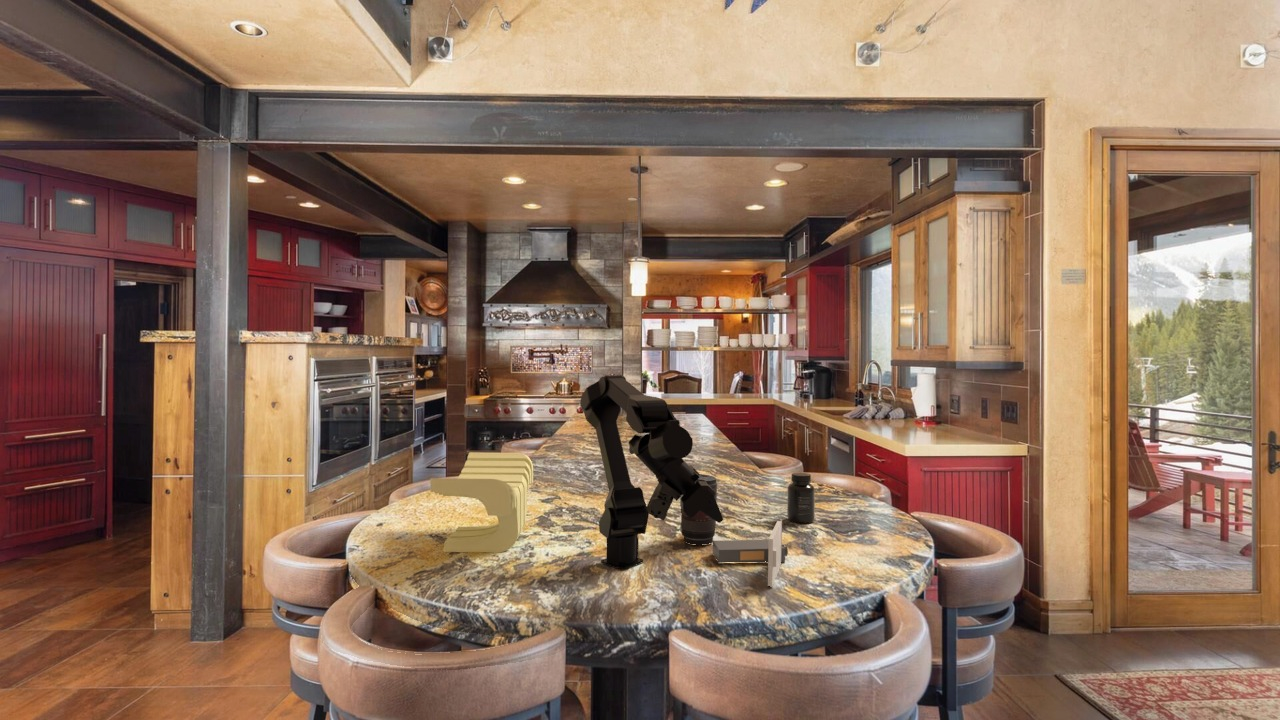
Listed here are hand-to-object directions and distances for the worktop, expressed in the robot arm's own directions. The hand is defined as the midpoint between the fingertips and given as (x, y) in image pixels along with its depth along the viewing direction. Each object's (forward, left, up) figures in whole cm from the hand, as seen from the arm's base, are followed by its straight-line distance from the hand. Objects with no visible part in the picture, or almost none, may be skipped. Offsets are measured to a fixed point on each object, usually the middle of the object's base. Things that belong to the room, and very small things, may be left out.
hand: (721, 520), depth 118 cm
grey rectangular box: (+17, +3, -12) cm, 21 cm away
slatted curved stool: (-13, +54, -13) cm, 57 cm away
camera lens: (+19, +18, -13) cm, 29 cm away
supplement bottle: (+51, +8, -13) cm, 53 cm away
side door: (+12, -5, -12) cm, 18 cm away
